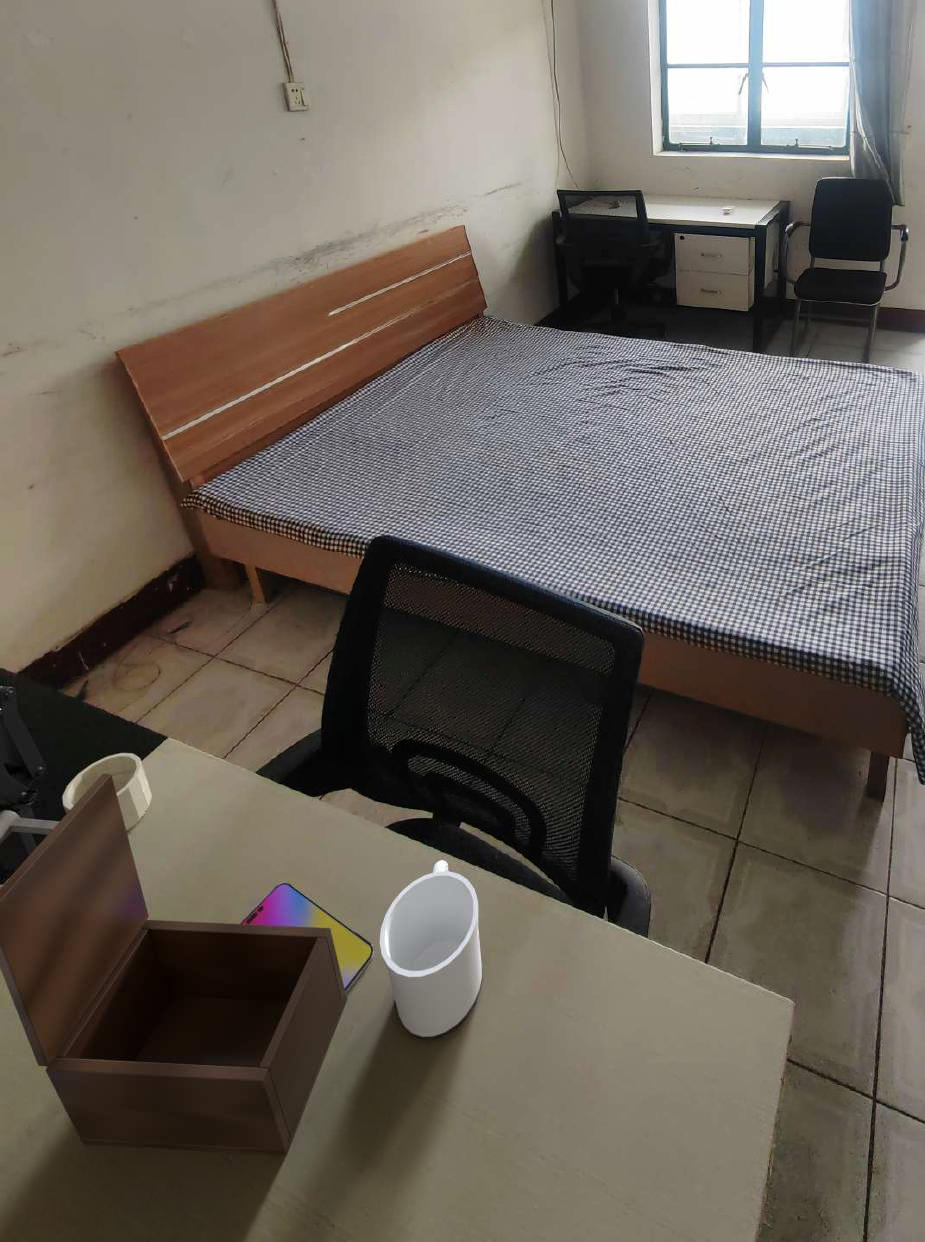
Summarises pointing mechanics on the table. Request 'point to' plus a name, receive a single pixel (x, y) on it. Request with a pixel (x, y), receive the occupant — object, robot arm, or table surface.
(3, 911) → the lid
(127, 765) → the bowl
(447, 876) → the mug
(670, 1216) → the table surface
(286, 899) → the smartphone
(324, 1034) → the wooden box
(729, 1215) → the table surface
